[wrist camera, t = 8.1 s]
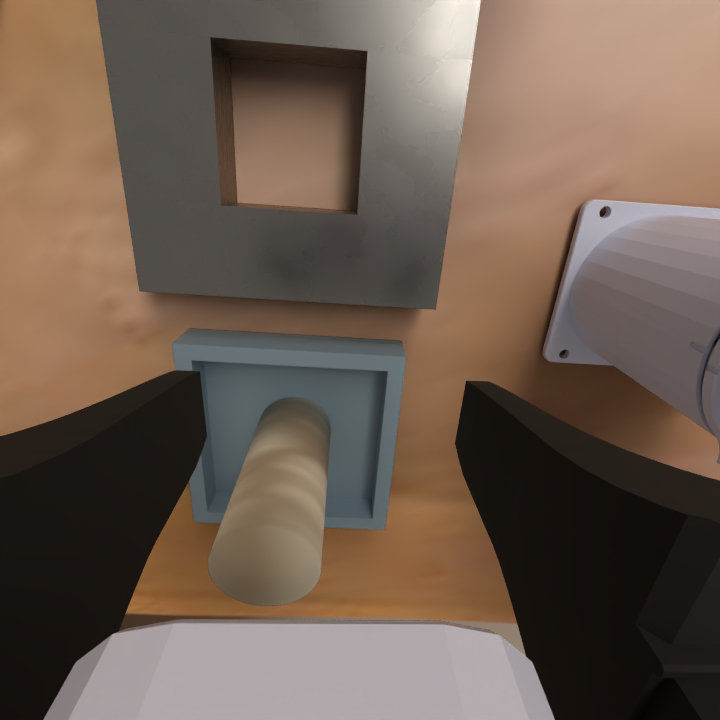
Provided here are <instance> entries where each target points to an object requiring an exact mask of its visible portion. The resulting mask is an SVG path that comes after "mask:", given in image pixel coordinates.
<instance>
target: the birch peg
mask: <svg viewBox="0 0 720 720" xmlns="http://www.w3.org/2000/svg"><path fill="white" fill-rule="evenodd" d="M330 436H331V424H330V421H329V418H328V416H327V414H326V413H325V411H324V410H323V409H322V408H321V407H320V406H318V405H317V404H316V403H314V402H312V401H310V400H307V399H304V398H299V397H288V398H283V399H280V400H277V401H275V402H273V403H272V404H270V405H269V406H268V407H267V408H266V409H265V410H264V412H263V413H262V415H261V418H260V420H259V423H258V426H257V429H256V431H255V434H254V437H253V439H252V442H251V445H250V447H249V450H248V453H247V455H246V458H245V461H244V463H243V466H242V469H241V471H240V474H239V477H238V480H237V482H236V485H235V488H234V490H233V493H232V496H231V498H230V501H229V504H228V506H227V509H226V512H225V514H224V517H223V520H222V523H221V525H220V528H219V531H218V533H217V536H216V539H215V541H214V544H213V547H212V549H211V552H210V555H209V558H208V570H209V574H210V576H211V578H212V580H213V582H214V583H215V584H216V585H217V587H218V588H219V589H220V590H222V591H223V592H224V593H225V594H227V595H228V596H230V597H232V598H234V599H236V600H238V601H241V602H244V603H247V604H251V605H257V606H279V605H284V604H288V603H291V602H294V601H297V600H299V599H301V598H302V597H304V596H305V595H307V594H308V593H309V592H310V591H311V590H312V589H313V588H314V587H315V586H316V584H317V582H318V580H319V577H320V573H321V562H322V548H323V534H324V520H325V506H326V492H327V478H328V464H329V450H330Z"/></svg>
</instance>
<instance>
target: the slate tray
mask: <svg viewBox="0 0 720 720" xmlns="http://www.w3.org/2000/svg"><path fill="white" fill-rule="evenodd" d="M172 346H173V354H174V362H175V370H182V371H200V376H201V385H202V394H203V403H204V412H205V421H206V431H207V438H206V441H205V444H204V447H203V450H202V453H201V455H200V458H199V461H198V463H197V466H196V468H195V470H194V472H193V474H192V476H191V478H190V480H189V483H190V491H191V500H192V508H193V516H194V522H197V523H222V520H223V517H224V514H225V512H226V509H227V506H228V504H229V501H230V498H231V496H232V493H233V490H234V488H235V485H236V482H237V480H238V477H239V474H240V471H241V469H242V466H243V463H244V461H245V458H246V455H247V453H248V450H249V447H250V445H251V442H252V439H253V437H254V434H255V431H256V429H257V426H258V423H259V420H260V418H261V415H262V413H263V412H264V410H265V409H266V408H267V407H268V406H269V405H270V404H272V403H273V402H275V401H277V400H280V399H283V398H288V397H299V398H304V399H307V400H310V401H312V402H314V403H316V404H317V405H318V406H320V407H321V408H322V409H323V410H324V411H325V413H326V414H327V416H328V418H329V421H330V424H331V436H330V450H329V464H328V478H327V492H326V506H325V520H324V528H349V529H375V530H385V527H386V519H387V511H388V502H389V494H390V486H391V478H392V470H393V462H394V454H395V445H396V437H397V429H398V421H399V413H400V405H401V397H402V388H403V380H404V372H405V364H406V354H405V351H404V348H403V344H402V341H397V340H380V339H363V338H346V337H329V336H312V335H295V334H277V333H260V332H243V331H226V330H209V329H192V328H190V329H188V330H187V331H186V332H185V333H184V334H183V335H182V336H180V337H179V338H178V339H177V340H176V341H175V342H174V343H173V344H172Z"/></svg>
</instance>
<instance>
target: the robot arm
mask: <svg viewBox="0 0 720 720" xmlns="http://www.w3.org/2000/svg"><path fill="white" fill-rule="evenodd" d="M604 206H605V208H606V213H605V215H604V216H603V217H600V215H599V214H600V210H601V209H602V208H603V207H604ZM562 350H566V352H565V354H564V355H562V356H559V354H560V352H561V351H562ZM543 356H544V358H545V359H547V360H548V361H550V362H559V363H577V364H594V365H612V366H615V367H616V368H618V369H619V370H620V371H622V372H623V373H625V374H626V375H628V376H629V377H630V378H632V379H633V380H635V381H636V382H638V383H639V384H640V385H642V386H643V387H645V388H646V389H648V390H649V391H650V392H652V393H653V394H655V395H656V396H658V397H659V398H660V399H662V400H663V401H665V402H666V403H668V404H669V405H670V406H672V407H673V408H675V409H676V410H678V411H679V412H680V413H682V414H683V415H685V416H686V417H688V418H689V419H690V420H692V421H693V422H695V423H696V424H698V425H699V426H701V427H702V428H703V429H705V430H706V431H708V432H709V433H711V434H712V435H713V436H715V437H716V438H717V439H718V442H719V456H718V460H717V463H718V464H720V209H717V208H704V207H690V206H677V205H663V204H650V203H636V202H623V201H609V200H596V199H593V200H588V201H587V202H585V203H584V204H583V205H582V207H581V209H580V212H579V216H578V219H577V223H576V227H575V231H574V234H573V238H572V242H571V246H570V250H569V253H568V257H567V261H566V265H565V268H564V272H563V276H562V280H561V283H560V287H559V291H558V295H557V299H556V302H555V306H554V310H553V314H552V317H551V321H550V325H549V329H548V332H547V336H546V340H545V344H544V348H543ZM206 438H207V431H206V421H205V412H204V403H203V394H202V385H201V376H200V371H182V370H176V371H172V372H169V373H166V374H164V375H161V376H159V377H156V378H154V379H151V380H149V381H147V382H145V383H142V384H140V385H138V386H136V387H133V388H131V389H129V390H127V391H124V392H122V393H120V394H118V395H115V396H113V397H111V398H108V399H106V400H103V401H101V402H98V403H96V404H93V405H91V406H89V407H86V408H84V409H81V410H79V411H76V412H74V413H71V414H69V415H66V416H63V417H60V418H58V419H55V420H52V421H49V422H46V423H43V424H40V425H37V426H34V427H31V428H27V429H24V430H21V431H18V432H14V433H11V434H8V435H4V436H0V720H720V481H719V480H715V479H711V478H708V477H704V476H701V475H697V474H694V473H691V472H688V471H684V470H681V469H678V468H675V467H672V466H669V465H666V464H663V463H660V462H657V461H654V460H651V459H648V458H645V457H643V456H640V455H637V454H635V453H632V452H629V451H627V450H624V449H622V448H620V447H617V446H615V445H612V444H610V443H608V442H605V441H603V440H600V439H598V438H596V437H594V436H591V435H589V434H587V433H585V432H583V431H581V430H579V429H577V428H575V427H573V426H571V425H569V424H567V423H565V422H563V421H561V420H559V419H557V418H555V417H553V416H552V415H550V414H548V413H546V412H544V411H542V410H541V409H539V408H537V407H535V406H534V405H532V404H530V403H528V402H526V401H525V400H523V399H521V398H519V397H518V396H516V395H514V394H512V393H511V392H509V391H507V390H505V389H503V388H501V387H499V386H497V385H495V384H493V383H490V382H484V381H466V385H465V390H464V396H463V402H462V407H461V413H460V419H459V424H458V430H457V435H456V441H455V445H456V449H457V453H458V457H459V461H460V465H461V469H462V472H463V475H464V478H465V480H466V483H467V485H468V488H469V490H470V492H471V495H472V497H473V500H474V502H475V504H476V507H477V509H478V511H479V514H480V516H481V518H482V521H483V523H484V525H485V528H486V530H487V532H488V535H489V537H490V539H491V542H492V544H493V547H494V549H495V552H496V555H497V557H498V560H499V563H500V566H501V569H502V573H503V576H504V579H505V583H506V586H507V589H508V592H509V596H510V599H511V602H512V606H513V610H514V613H515V617H516V620H517V624H518V627H519V631H520V635H521V638H522V642H523V646H524V650H525V654H526V656H524V655H523V654H522V653H521V652H520V651H518V650H517V649H516V648H515V647H514V646H512V645H511V644H510V643H509V642H507V641H506V640H505V639H504V638H503V637H501V636H500V635H498V634H496V633H494V632H492V631H490V630H486V629H481V628H476V627H470V626H465V625H460V624H455V623H450V622H444V621H421V620H407V621H406V620H221V619H219V620H218V619H179V620H173V621H168V622H162V623H157V624H151V625H145V626H139V627H133V628H128V629H125V630H122V631H119V629H120V626H121V623H122V621H123V618H124V616H125V613H126V611H127V608H128V605H129V603H130V600H131V598H132V595H133V593H134V590H135V588H136V585H137V583H138V581H139V578H140V576H141V573H142V571H143V569H144V566H145V564H146V561H147V559H148V557H149V555H150V553H151V551H152V548H153V546H154V544H155V542H156V540H157V538H158V537H159V535H160V533H161V531H162V529H163V527H164V526H165V524H166V522H167V520H168V518H169V516H170V515H171V513H172V511H173V509H174V507H175V505H176V504H177V502H178V500H179V498H180V496H181V495H182V493H183V491H184V489H185V487H186V485H187V483H188V482H189V480H190V478H191V476H192V474H193V472H194V470H195V468H196V466H197V463H198V461H199V458H200V455H201V453H202V450H203V447H204V444H205V441H206ZM118 631H119V632H118Z"/></svg>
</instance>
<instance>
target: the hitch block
mask: <svg viewBox="0 0 720 720" xmlns="http://www.w3.org/2000/svg"><path fill="white" fill-rule="evenodd" d="M480 3H481V0H96V4H97V11H98V17H99V24H100V31H101V37H102V44H103V51H104V57H105V64H106V71H107V77H108V84H109V91H110V98H111V104H112V111H113V118H114V124H115V131H116V138H117V144H118V151H119V158H120V164H121V171H122V178H123V185H124V191H125V198H126V205H127V211H128V218H129V225H130V231H131V238H132V245H133V251H134V258H135V265H136V272H137V278H138V285H139V291H143V292H159V293H175V294H191V295H207V296H223V297H240V298H256V299H272V300H288V301H304V302H321V303H337V304H353V305H369V306H385V307H401V308H418V309H434V310H436V304H437V297H438V290H439V283H440V276H441V270H442V263H443V256H444V249H445V242H446V235H447V229H448V222H449V215H450V208H451V201H452V194H453V188H454V181H455V174H456V167H457V160H458V154H459V147H460V140H461V133H462V126H463V119H464V113H465V106H466V99H467V92H468V85H469V78H470V72H471V65H472V58H473V51H474V44H475V37H476V31H477V24H478V17H479V10H480ZM230 58H241V59H253V60H265V61H276V62H288V63H300V64H311V65H323V66H335V67H347V68H358V69H366V72H365V88H364V105H363V121H362V138H361V154H360V170H359V187H358V203H357V211H345V210H331V209H317V208H303V207H289V206H275V205H261V204H247V203H237V188H236V167H235V147H234V126H233V106H232V85H231V64H230Z"/></svg>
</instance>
